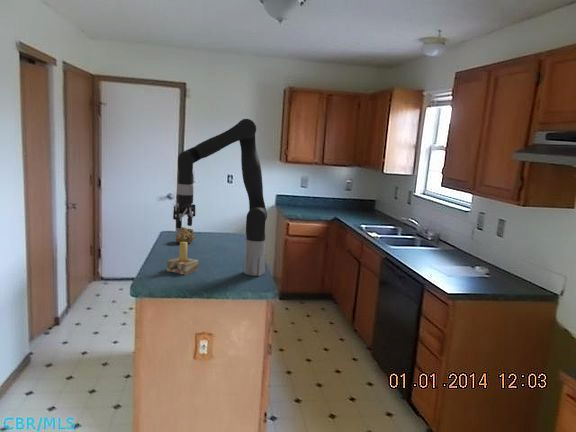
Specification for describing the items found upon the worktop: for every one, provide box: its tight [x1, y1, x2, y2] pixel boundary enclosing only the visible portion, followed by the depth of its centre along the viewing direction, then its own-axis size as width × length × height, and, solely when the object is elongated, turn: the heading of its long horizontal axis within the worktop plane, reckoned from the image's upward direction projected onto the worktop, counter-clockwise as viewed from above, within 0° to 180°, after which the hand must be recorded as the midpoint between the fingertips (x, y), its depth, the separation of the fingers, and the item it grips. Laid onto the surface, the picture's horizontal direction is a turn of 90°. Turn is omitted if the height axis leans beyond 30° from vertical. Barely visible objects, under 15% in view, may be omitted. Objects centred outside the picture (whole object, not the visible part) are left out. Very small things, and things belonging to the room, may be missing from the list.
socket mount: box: [166, 256, 199, 276], centre depth 216 cm, size 11×14×5 cm
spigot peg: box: [178, 242, 189, 263], centre depth 216 cm, size 4×4×14 cm
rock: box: [175, 226, 196, 244], centre depth 271 cm, size 12×10×10 cm
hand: (184, 226), depth 214 cm, fingers open, 8 cm apart
